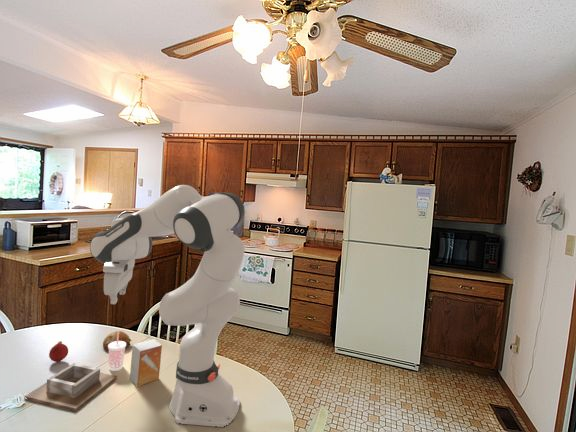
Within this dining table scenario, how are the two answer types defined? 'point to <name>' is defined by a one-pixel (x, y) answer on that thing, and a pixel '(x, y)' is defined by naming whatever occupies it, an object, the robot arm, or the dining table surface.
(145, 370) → the small box
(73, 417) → the dining table surface
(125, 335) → the bread roll
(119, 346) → the beverage cup
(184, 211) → the robot arm
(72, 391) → the walnut board
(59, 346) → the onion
